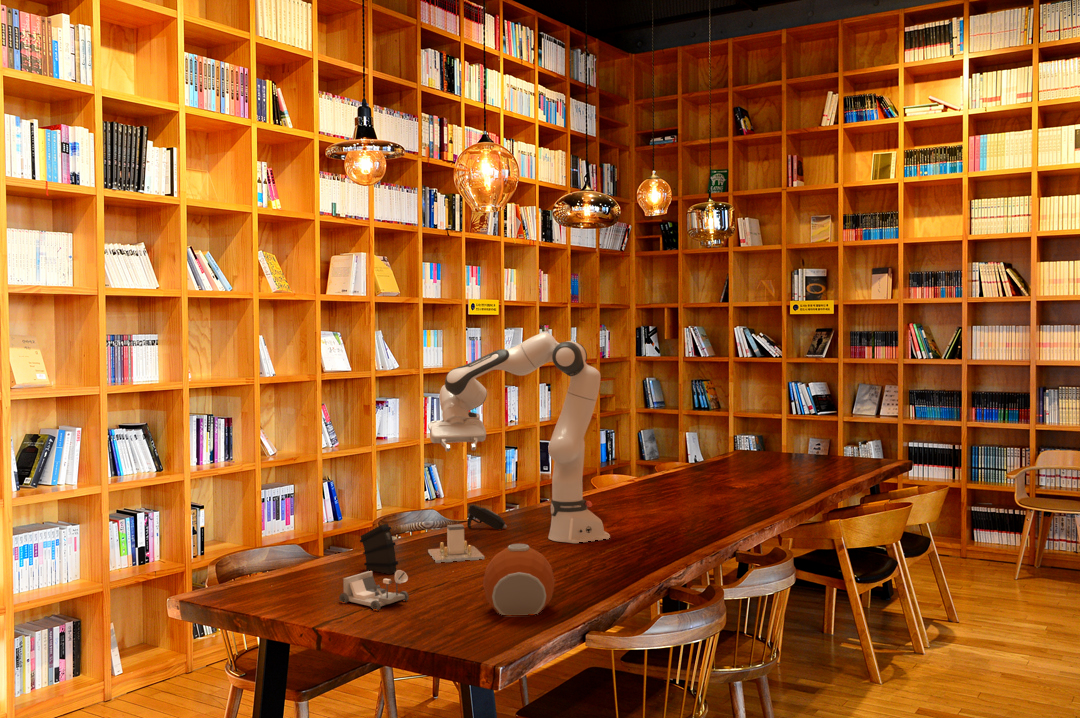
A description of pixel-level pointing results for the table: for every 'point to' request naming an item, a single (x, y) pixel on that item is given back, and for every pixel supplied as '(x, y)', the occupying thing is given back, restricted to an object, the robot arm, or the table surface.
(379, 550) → the black ribbed panel
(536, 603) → the alarm clock
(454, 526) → the block
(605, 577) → the table surface
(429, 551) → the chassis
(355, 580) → the toy lunar rover
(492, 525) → the gun
